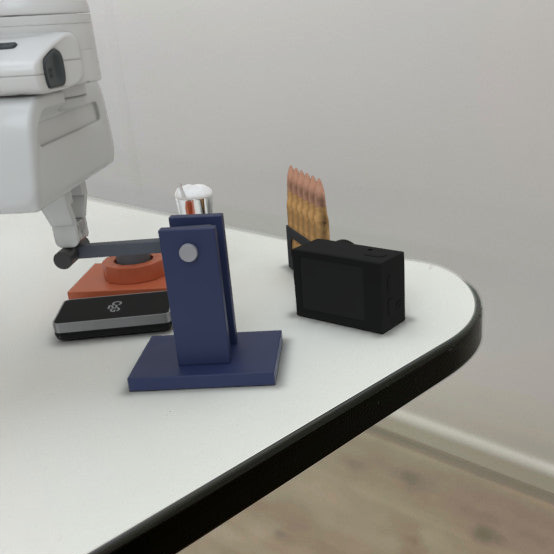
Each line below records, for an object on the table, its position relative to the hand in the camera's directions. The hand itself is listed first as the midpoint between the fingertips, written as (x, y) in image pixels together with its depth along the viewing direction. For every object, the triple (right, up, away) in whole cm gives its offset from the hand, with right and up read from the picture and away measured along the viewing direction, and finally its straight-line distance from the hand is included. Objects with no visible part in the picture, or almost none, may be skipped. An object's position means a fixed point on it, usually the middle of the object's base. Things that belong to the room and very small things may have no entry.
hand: (73, 242), depth 62 cm
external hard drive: (-1, -6, +15) cm, 16 cm away
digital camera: (+23, -5, +14) cm, 27 cm away
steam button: (-1, +1, +21) cm, 22 cm away
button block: (-1, -2, +23) cm, 23 cm away
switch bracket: (+10, -10, +5) cm, 15 cm away
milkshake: (+3, +3, +34) cm, 35 cm away
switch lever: (+5, -1, +1) cm, 5 cm away
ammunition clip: (+18, 0, +26) cm, 31 cm away
